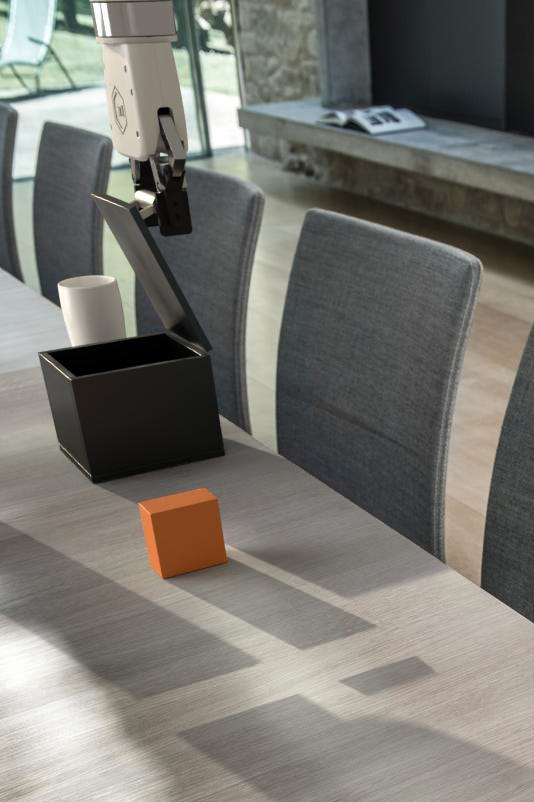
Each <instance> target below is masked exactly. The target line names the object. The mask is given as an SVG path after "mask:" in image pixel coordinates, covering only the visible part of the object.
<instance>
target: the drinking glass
mask: <svg viewBox="0 0 534 802" xmlns="http://www.w3.org/2000/svg"><path fill="white" fill-rule="evenodd" d="M57 290H58V296H59V303H60V308H61V312H62V316H63V320H64V324H65V328H66V332H67V335H68V338H69V341H70V345H71V347H73V346H79V345H86V344H92V343H98V342H104V341H110V340H116V339H122V338H127V331H126V329H127V328H126V320H125V313H124V307H123V302H122V295H121V292H120V287H119V283H118V280H117V278H116V277H114V276H111V275H110V276H109V275H102V274H101V275H95V274H93V275H83V276H82V275H81V276H75V277H70V278H66V279H63V280H61V281H59V282H58V283H57Z"/></svg>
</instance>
